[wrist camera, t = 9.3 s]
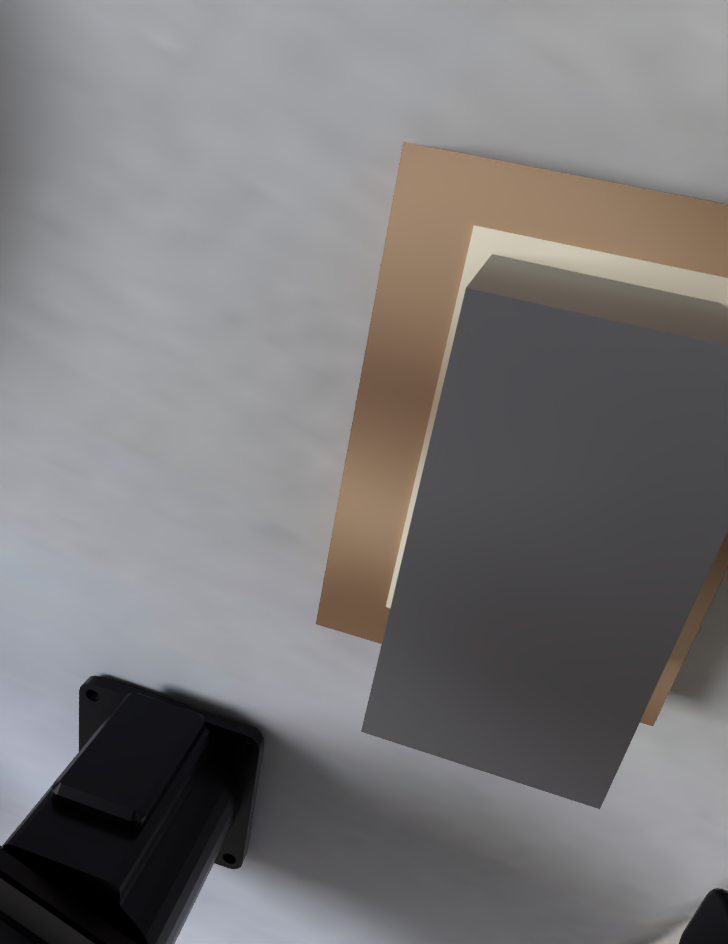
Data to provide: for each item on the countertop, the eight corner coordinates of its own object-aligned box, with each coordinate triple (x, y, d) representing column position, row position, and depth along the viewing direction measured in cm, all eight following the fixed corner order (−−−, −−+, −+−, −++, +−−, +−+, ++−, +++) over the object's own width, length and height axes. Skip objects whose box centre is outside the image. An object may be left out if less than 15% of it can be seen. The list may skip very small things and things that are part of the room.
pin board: (645, 687, 19) (653, 728, 17) (331, 594, 20) (314, 626, 19) (851, 230, 14) (886, 235, 12) (416, 145, 15) (402, 141, 14)
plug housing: (586, 643, 17) (599, 809, 13) (408, 592, 18) (361, 731, 13) (719, 302, 14) (805, 363, 9) (492, 253, 14) (466, 287, 10)
